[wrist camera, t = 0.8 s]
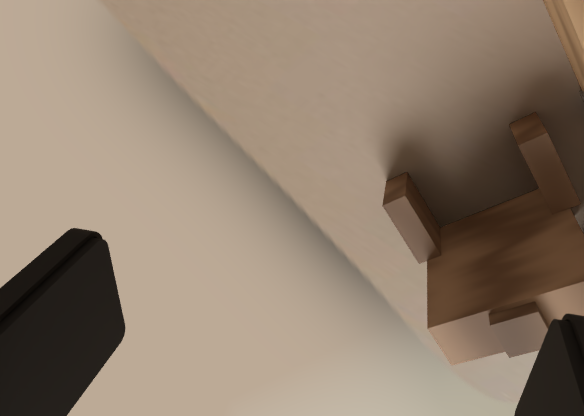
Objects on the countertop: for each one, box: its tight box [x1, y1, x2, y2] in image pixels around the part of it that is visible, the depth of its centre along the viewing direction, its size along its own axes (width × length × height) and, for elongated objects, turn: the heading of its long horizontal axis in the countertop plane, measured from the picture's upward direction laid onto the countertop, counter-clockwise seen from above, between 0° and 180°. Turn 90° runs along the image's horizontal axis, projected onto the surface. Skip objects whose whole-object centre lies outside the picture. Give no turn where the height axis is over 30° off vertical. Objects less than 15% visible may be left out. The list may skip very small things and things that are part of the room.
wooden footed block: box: [383, 112, 584, 365], centre depth 29 cm, size 10×8×11 cm
